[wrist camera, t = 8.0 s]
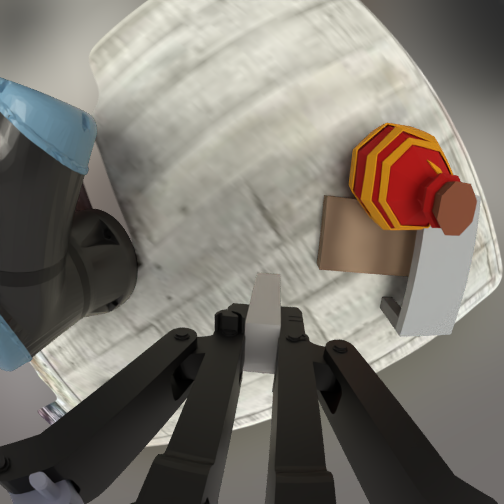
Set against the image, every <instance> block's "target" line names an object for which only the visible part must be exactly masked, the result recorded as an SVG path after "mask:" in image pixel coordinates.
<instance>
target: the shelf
mask: <svg viewBox="0 0 504 504" xmlns="http://www.w3.org/2000/svg"><path fill="white" fill-rule="evenodd" d="M475 197H476V199H477V205H476V209H475V214H474V218H473V222H472V223H471V224H470V225H469V226H468V227H467V228H466V229H465V231H464V232H463V233H462V234H461V235H460V236H449V235H444V233H443V231H442V229H441V228H432V227H431V226H430V227H429V228H423V229H421V230H417V234H416V240H415V246H414V252H413V258H412V263H411V268H410V273H409V278H408V283H407V287H406V291H405V296H404V300H403V304H402V308H401V307H400V306H399V305H398V303H397V302H396V301H395V300H394V299H393V298H392V297H382V301H381V305H380V308H381V310H382V311H383V313H384V314H385V315H386V317H387V318H388V320H389V321H390V323H391V324H392V326H393V327H394V329H395V330H396V332H397V333H398V335H399V336H429V335H446V334H451V332H452V329H453V326H454V323H455V320H456V317H457V314H458V311H459V308H460V305H461V301H462V298H463V294H464V291H465V287H466V283H467V279H468V275H469V270H470V266H471V261H472V256H473V251H474V246H475V240H476V234H477V227H478V219H479V210H480V200H481V196H477V195H475Z"/></svg>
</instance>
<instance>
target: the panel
mask: <svg viewBox="0 0 504 504" xmlns="http://www.w3.org/2000/svg"><path fill="white" fill-rule="evenodd" d="M391 229H397V228H391ZM416 234H417V230H383V229H382V228H381V227H380V226H379V225H378V224H376V223H375V222H374V221H373V220H372V218H370V217H369V216H368V214H367V213H366V211H365V210H364V208H363V207H362V205H361V204H360V203H359V201H358V200H357V199H351V198H343V197H335V196H326V195H324V202H323V213H322V223H321V233H320V242H319V250H318V258H317V265H318V267H319V270H331V271H343V272H356V273H368V274H381V275H394V276H408V277H409V273H410V268H411V263H412V258H413V252H414V246H415V240H416Z"/></svg>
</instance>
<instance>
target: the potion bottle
mask: <svg viewBox="0 0 504 504" xmlns="http://www.w3.org/2000/svg"><path fill="white" fill-rule="evenodd" d="M349 187H350V189H351V191H352V193H353V194H354V195H355V197H356V198H357V200H358V201H359V203H360V204H361V205H362V207H363V208H364V210H365V211H366V213H367V214H368V216H369V217H370V218H372V220H373V221H374V222H375V223H376V224H378V225H379V226H380V227H381V228H382V229H383V230H421V229H423V228H429V227H430V226H431V227H432V228H441V229H442V231H443V233H444V235H449V236H460V235H461V234H462V233H463V232H464V231H465V229H466V228H467V227H468V226H469V225H470V224H471V223H472V222H473V218H474V214H475V209H476V205H477V199H476V197H475V194H474V191H473V189H472V186H471V184H468V183H463V182H461V181H460V179H459V177H458V176H456V175H453V173H452V170H451V168H450V165H449V163H448V161H447V159H446V157H445V155H444V153H443V151H442V149H441V147H440V145H439V144H438V142H437V140H436V139H435V137H434V136H432V135H430V134H428V133H426V132H424V131H422V130H419V129H416V128H414V127H410V126H405V125H398V124H392V123H385V124H383V125H381V126H380V127H378V128H377V129H375V130H373V131H372V132H371V133H370V134H369V135H368V136H367V137H366V138H365V139H363V140H362V141H361V142H360V143H359V144H358V145H357V146H356V147H355V148H354V149H353V153H352V162H351V170H350V178H349ZM391 228H397V229H391Z"/></svg>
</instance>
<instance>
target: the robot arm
mask: <svg viewBox="0 0 504 504" xmlns="http://www.w3.org/2000/svg"><path fill="white" fill-rule="evenodd" d="M96 134H97V126H96V122H95V120H94V118H93V117H92V116H91V115H90V114H89V113H87V112H85V111H83V110H81V109H79V108H77V107H74V106H72V105H70V104H68V103H65V102H63V101H61V100H58V99H56V98H54V97H51V96H49V95H46V94H44V93H42V92H39V91H37V90H34V89H31V88H28V87H26V86H23V85H21V84H18V83H15V82H12V81H9V80H6V79H4V78H1V77H0V369H2V370H5V371H13V370H15V369H17V368H18V367H20V366H22V365H23V364H25V363H27V362H29V361H31V360H32V357H33V356H35V355H36V354H37V353H38V352H39V351H41V350H42V349H43V348H44V347H46V346H47V345H48V344H49V343H51V342H52V341H53V340H55V339H56V338H57V337H58V336H60V335H61V334H62V333H63V332H65V331H66V330H67V329H69V328H70V327H71V326H73V325H74V324H75V323H76V322H78V321H79V320H80V319H82V318H83V317H88V316H93V315H98V314H103V313H107V312H110V311H113V310H115V309H116V308H118V307H119V306H120V305H122V304H123V303H124V302H125V301H126V300H127V299H128V298H129V297H130V295H131V294H132V292H133V290H134V287H135V284H136V279H137V260H136V255H135V251H134V248H133V245H132V242H131V240H130V238H129V236H128V234H127V233H126V231H125V229H124V228H123V227H122V225H121V224H120V223H119V222H118V221H117V220H116V219H115V218H114V217H113V216H111V215H110V214H108V213H106V212H104V211H102V210H98V209H86V210H81V211H77V212H75V209H76V205H77V201H78V197H79V193H80V190H81V186H82V182H83V179H84V176H85V175H86V174H87V173H88V169H89V168H88V163H89V159H90V155H91V152H92V148H93V145H94V142H95V138H96ZM243 371H247V372H258V373H270V374H275V375H274V382H273V389H272V392H273V403H272V420H271V435H270V450H269V463H268V476H267V488H266V499H265V504H336V497H335V487H334V480H333V475H332V473H331V472H329V471H327V469H326V464H325V453H324V444H323V435H322V427H321V418H320V410H319V403H318V400H319V402H320V404H321V406H322V408H323V410H324V412H325V414H326V416H327V418H328V420H329V422H330V424H331V426H332V428H333V430H334V432H335V434H336V436H337V439H338V440H339V443H340V445H341V446H342V449H343V451H344V453H345V455H346V457H347V459H348V461H349V463H350V465H351V467H352V469H353V470H354V473H355V475H356V477H357V479H358V481H359V483H360V485H361V487H362V489H363V491H364V493H365V495H366V497H367V499H368V501H369V503H370V504H498V503H497V502H496V501H495V500H494V499H493V498H491V497H489V496H487V495H486V494H484V493H482V492H481V491H479V490H477V489H476V488H474V487H472V486H471V485H469V484H468V483H466V482H464V481H463V480H461V479H460V478H458V477H457V476H455V475H454V474H453V472H452V471H451V470H450V468H449V467H448V466H447V464H446V463H445V462H444V460H443V459H442V458H441V456H440V455H439V454H438V452H437V451H436V450H435V448H434V447H433V446H432V444H431V443H430V442H429V440H428V439H427V438H426V437H425V435H424V434H423V433H422V431H421V430H420V429H419V427H418V426H417V425H416V424H415V423H414V421H413V420H412V418H411V417H410V416H409V415H408V413H407V412H406V411H405V410H404V408H403V407H402V406H401V404H400V403H399V402H398V401H397V399H396V398H395V397H394V396H393V394H392V393H391V392H390V391H389V389H388V388H387V387H386V386H385V384H384V383H383V382H382V381H381V380H380V378H379V377H378V375H377V374H376V373H375V372H374V370H373V369H372V368H371V367H370V366H369V364H368V363H367V362H366V361H365V359H364V358H363V357H362V356H361V354H360V353H359V352H358V351H357V349H356V348H355V347H354V346H353V345H352V344H351V343H349V342H347V341H344V340H332V341H329V342H328V343H326V346H325V347H324V346H319V345H316V344H313V343H311V342H310V341H309V337H308V335H306V334H305V330H304V323H303V318H302V312H301V311H300V310H299V309H298V308H296V307H281V291H280V274H269V273H257V275H256V279H255V283H254V288H253V292H252V296H251V301H250V305H247V304H236V303H233V304H232V305H230V306H229V307H228V309H226V310H221V311H219V312H217V313H216V314H215V332H214V334H213V335H211V336H205V337H197V333H196V332H195V331H194V330H192V329H189V328H176V329H173V330H171V331H169V332H168V333H167V334H166V335H165V336H163V337H162V338H161V339H160V340H158V341H157V342H156V343H155V344H153V345H152V346H151V347H150V348H148V349H147V350H146V351H145V352H143V353H142V354H141V355H140V356H138V357H137V358H136V359H135V360H133V361H132V362H131V363H130V364H128V365H127V366H126V367H125V368H123V369H122V370H121V371H120V372H118V373H117V374H116V375H115V376H113V377H112V378H111V379H110V380H108V381H107V382H106V383H105V384H103V385H102V386H101V387H100V388H98V389H97V390H96V391H95V392H93V393H92V394H91V395H89V396H88V397H87V398H86V399H84V400H83V401H82V402H81V403H79V404H78V405H77V406H76V407H74V408H73V409H72V410H70V411H69V412H68V413H67V414H65V415H64V416H63V417H61V418H60V419H59V420H58V421H56V422H55V423H54V424H53V425H51V426H50V427H49V428H47V429H46V430H45V431H44V432H42V433H41V434H39V435H36V436H33V437H30V438H27V439H24V440H21V441H18V442H14V443H11V444H7V445H4V446H1V447H0V484H1V485H2V486H3V487H4V488H5V489H6V490H7V491H8V492H9V494H10V496H11V499H12V501H13V504H87V503H89V502H90V501H92V500H93V499H95V498H96V497H98V496H99V495H100V494H101V493H102V492H104V491H105V489H107V488H108V487H109V486H110V485H111V484H112V483H113V482H114V480H115V479H116V478H117V477H118V476H119V475H120V474H121V473H122V472H123V471H124V470H125V469H126V467H127V466H128V465H129V464H130V463H131V462H132V461H133V460H134V459H135V458H136V456H137V455H138V454H139V453H140V452H141V451H142V450H143V449H144V448H145V446H146V445H147V444H148V443H149V442H150V441H151V440H152V438H153V437H154V436H155V435H156V434H157V433H158V432H159V430H160V429H161V428H162V427H163V426H164V425H165V423H166V422H167V421H168V420H169V419H170V418H171V416H172V415H173V414H174V413H175V412H176V410H177V409H178V408H179V407H180V406H181V404H182V403H183V402H184V401H185V400H186V398H187V400H186V402H185V405H184V407H183V410H182V412H181V415H180V417H179V419H178V422H177V424H176V427H175V429H174V432H173V434H172V437H171V439H170V442H169V444H168V447H167V449H166V451H165V453H164V454H158V455H157V456H156V457H155V459H154V461H153V463H152V465H151V468H150V470H149V473H148V474H147V477H146V479H145V481H144V484H143V486H142V489H141V491H140V493H139V496H138V498H137V500H136V502H134V503H131V504H218V497H219V492H220V487H221V483H222V477H223V473H224V468H225V463H226V458H227V453H228V448H229V443H230V439H231V433H232V428H233V423H234V418H235V413H236V408H237V403H238V398H239V393H240V387H241V382H242V373H243Z"/></svg>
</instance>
